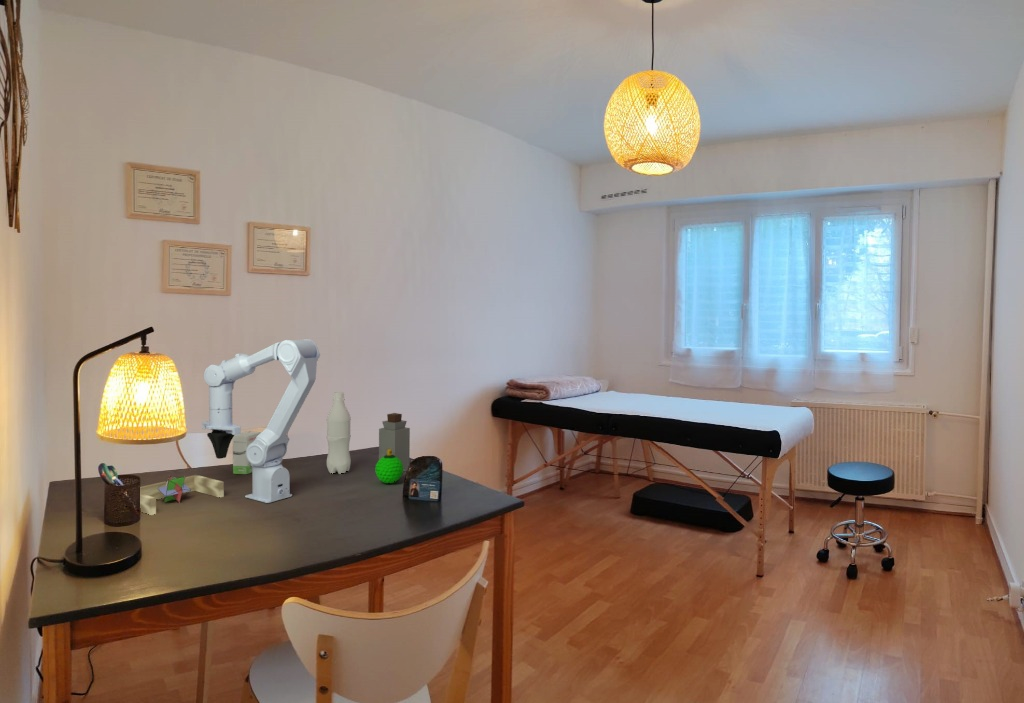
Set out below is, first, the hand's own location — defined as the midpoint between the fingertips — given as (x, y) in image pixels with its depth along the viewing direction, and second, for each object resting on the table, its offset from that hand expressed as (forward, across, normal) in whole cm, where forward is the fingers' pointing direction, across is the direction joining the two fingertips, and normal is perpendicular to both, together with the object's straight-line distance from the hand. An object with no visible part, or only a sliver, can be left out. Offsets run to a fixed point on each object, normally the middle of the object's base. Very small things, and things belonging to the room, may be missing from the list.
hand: (221, 457), depth 172 cm
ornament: (+10, +31, +33) cm, 46 cm away
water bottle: (+10, +10, +33) cm, 36 cm away
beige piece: (+9, -1, -12) cm, 15 cm away
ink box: (+10, -14, +18) cm, 25 cm away
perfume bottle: (+10, +22, +45) cm, 51 cm away
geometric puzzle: (+10, -2, -12) cm, 16 cm away
